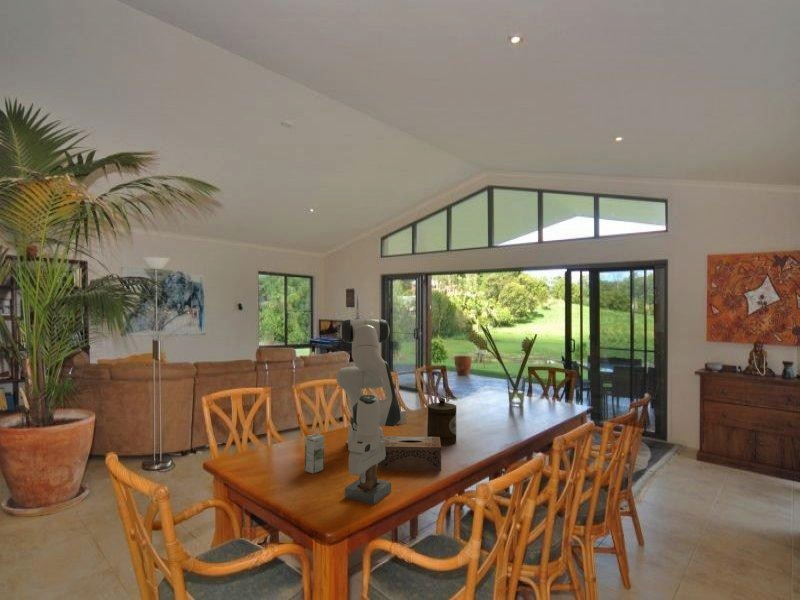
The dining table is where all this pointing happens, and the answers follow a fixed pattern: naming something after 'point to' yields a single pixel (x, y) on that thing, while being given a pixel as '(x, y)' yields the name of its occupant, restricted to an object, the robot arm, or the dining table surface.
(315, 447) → the syrup box
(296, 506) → the dining table surface
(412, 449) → the tissue box cover
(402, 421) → the architectural model
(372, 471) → the brown block with knob
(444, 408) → the wooden container
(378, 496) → the grey square socket base
